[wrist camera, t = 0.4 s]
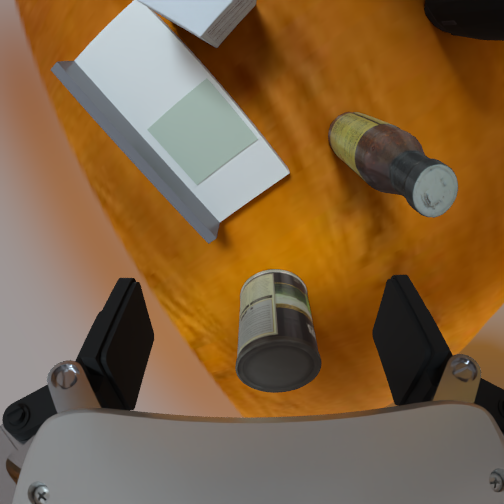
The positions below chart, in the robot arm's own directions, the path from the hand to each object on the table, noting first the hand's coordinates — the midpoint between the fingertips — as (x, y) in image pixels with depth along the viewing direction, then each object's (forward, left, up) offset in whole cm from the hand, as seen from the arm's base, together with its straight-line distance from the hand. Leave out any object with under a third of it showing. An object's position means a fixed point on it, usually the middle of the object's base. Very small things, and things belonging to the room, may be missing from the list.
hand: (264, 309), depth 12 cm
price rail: (+10, -9, -27) cm, 31 cm away
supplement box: (-6, -16, -30) cm, 34 cm away
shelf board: (+5, -9, -29) cm, 31 cm away
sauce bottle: (-10, +6, -30) cm, 32 cm away
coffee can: (+12, +20, -30) cm, 38 cm away
